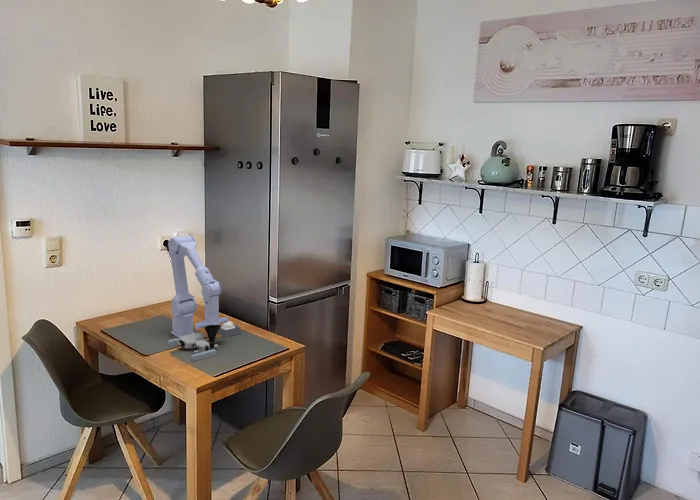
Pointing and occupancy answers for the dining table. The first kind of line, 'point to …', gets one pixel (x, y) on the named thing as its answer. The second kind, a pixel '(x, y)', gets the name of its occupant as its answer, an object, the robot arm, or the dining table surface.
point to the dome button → (228, 325)
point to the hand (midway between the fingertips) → (211, 341)
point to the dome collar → (229, 331)
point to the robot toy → (196, 342)
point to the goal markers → (198, 355)
